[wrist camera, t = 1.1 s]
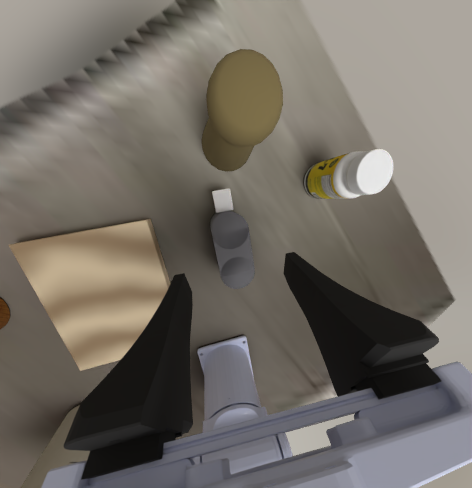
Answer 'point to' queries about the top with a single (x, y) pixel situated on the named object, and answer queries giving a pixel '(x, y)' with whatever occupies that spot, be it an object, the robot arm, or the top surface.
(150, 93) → the top surface
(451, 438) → the robot arm
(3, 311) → the disposable coffee cup
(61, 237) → the wooden board
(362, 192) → the supplement bottle
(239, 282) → the connector
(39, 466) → the travel mug
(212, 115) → the cork
